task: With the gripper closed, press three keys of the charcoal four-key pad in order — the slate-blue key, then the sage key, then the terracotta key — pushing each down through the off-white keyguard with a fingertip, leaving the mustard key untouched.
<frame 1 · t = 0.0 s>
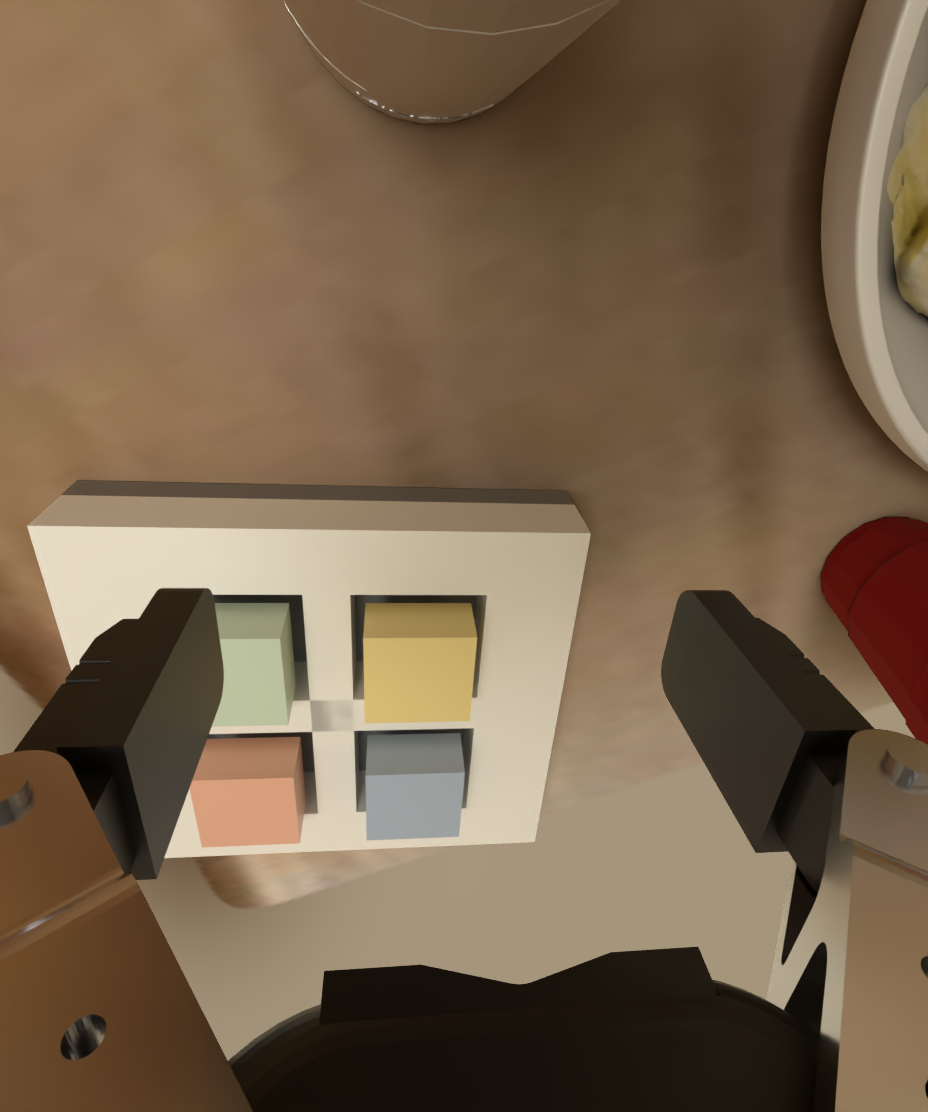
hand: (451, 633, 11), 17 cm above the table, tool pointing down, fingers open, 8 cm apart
keypad board: (339, 657, 32), on the table
key terracotta: (251, 791, 29), point 5 cm above the table, slide at 0.0 cm
key sage: (233, 664, 26), point 5 cm above the table, slide at 0.0 cm
key mustard: (418, 662, 27), point 5 cm above the table, slide at 0.0 cm
key slate: (413, 786, 30), point 5 cm above the table, slide at 0.0 cm
plastic cup: (872, 566, 33), on the table
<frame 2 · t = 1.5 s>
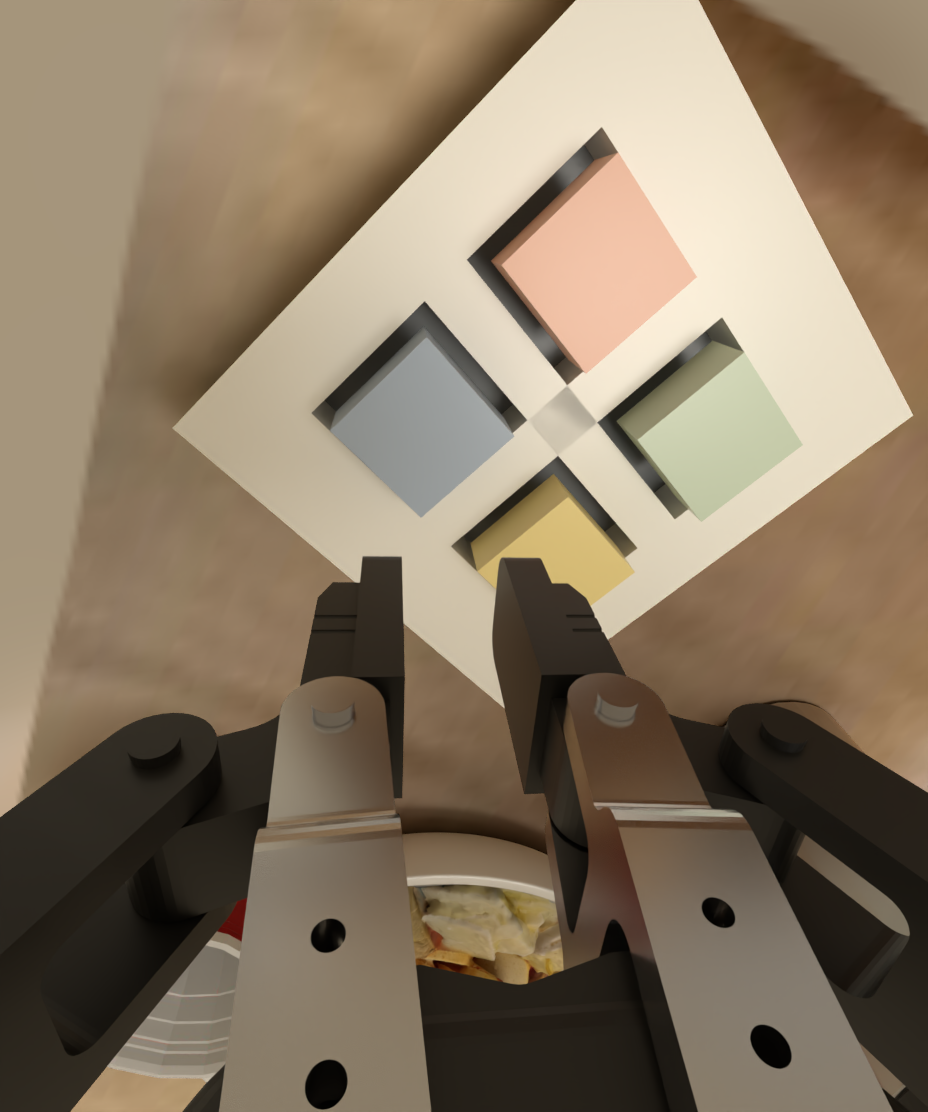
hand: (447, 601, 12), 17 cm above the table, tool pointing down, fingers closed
keypad board: (539, 394, 28), on the table
key terracotta: (590, 268, 21), point 5 cm above the table, slide at 0.0 cm
key sage: (706, 432, 24), point 5 cm above the table, slide at 0.0 cm
key mustard: (550, 557, 26), point 5 cm above the table, slide at 0.0 cm
key slate: (422, 423, 22), point 5 cm above the table, slide at 0.0 cm
plastic cup: (229, 788, 37), on the table
bowl: (417, 947, 46), on the table
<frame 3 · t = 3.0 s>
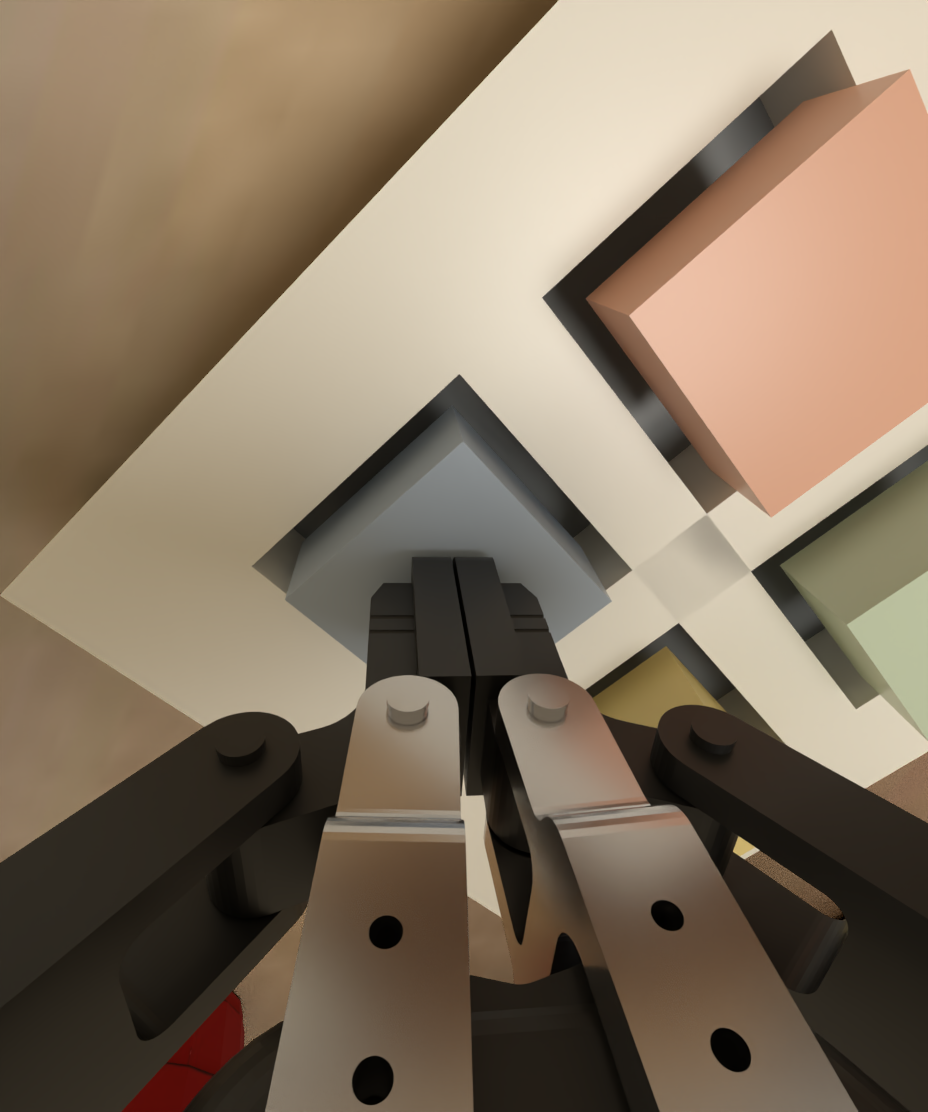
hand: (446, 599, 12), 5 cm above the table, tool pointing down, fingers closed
keypad board: (629, 497, 17), on the table
key terracotta: (786, 316, 11), point 5 cm above the table, slide at 0.0 cm
key mustard: (658, 780, 15), point 5 cm above the table, slide at 0.0 cm
key slate: (448, 570, 13), point 4 cm above the table, slide at 0.8 cm, touching gripper
plastic cup: (168, 1005, 27), on the table
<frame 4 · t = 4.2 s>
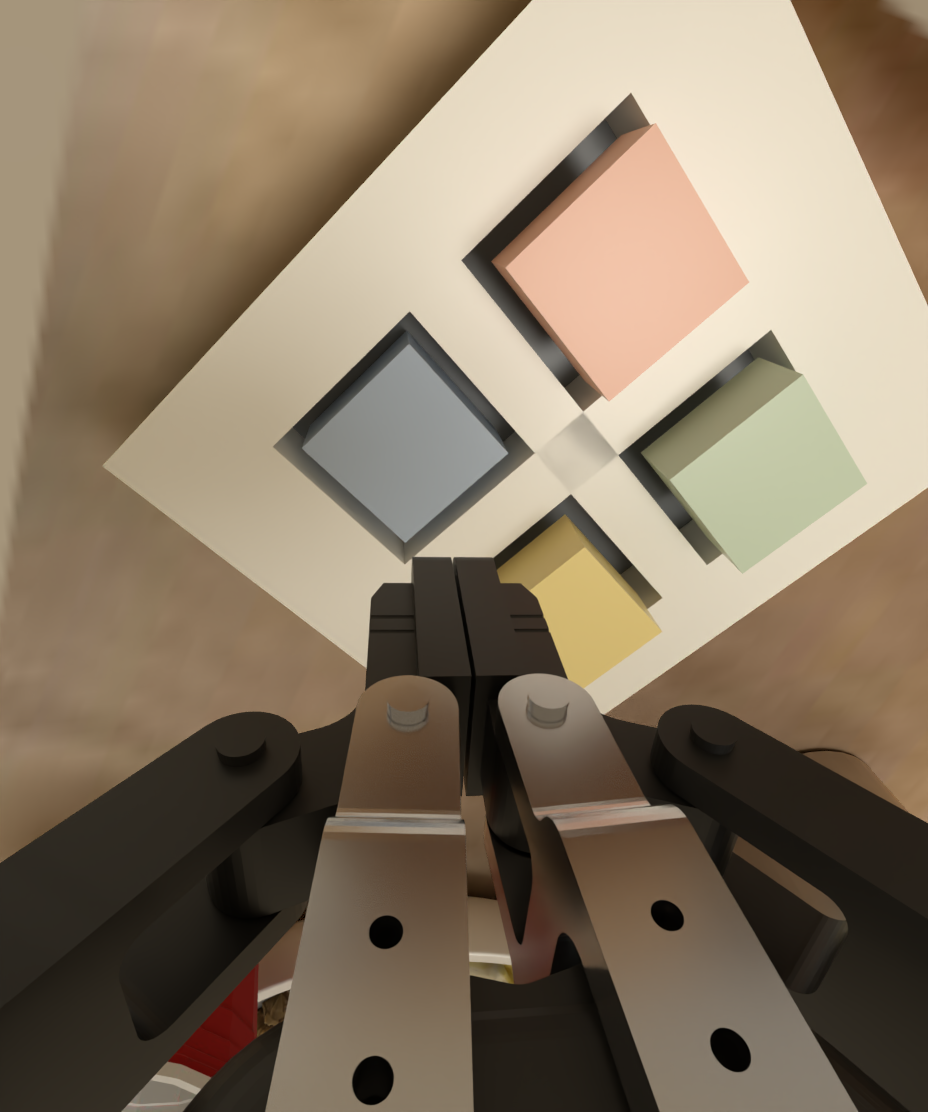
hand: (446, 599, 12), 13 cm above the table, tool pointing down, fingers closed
keypad board: (547, 416, 24), on the table
key terracotta: (614, 271, 17), point 5 cm above the table, slide at 0.0 cm
key sage: (750, 467, 20), point 5 cm above the table, slide at 0.0 cm
key mustard: (561, 612, 22), point 5 cm above the table, slide at 0.0 cm
key slate: (406, 438, 20), point 3 cm above the table, slide at 2.0 cm
plastic cup: (196, 852, 33), on the table
bowl: (409, 1008, 42), on the table
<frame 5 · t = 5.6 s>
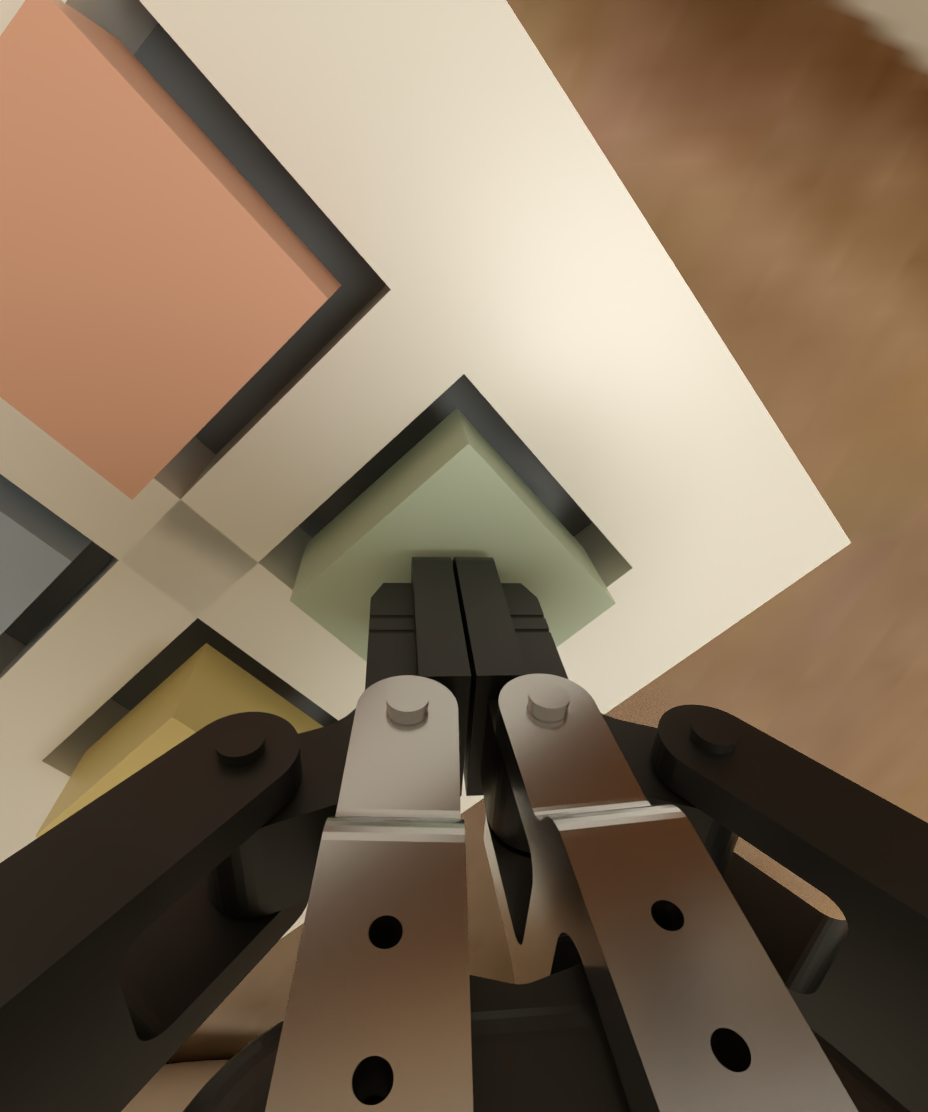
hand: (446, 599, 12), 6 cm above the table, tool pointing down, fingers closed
keypad board: (236, 486, 16), on the table
key terracotta: (126, 278, 10), point 5 cm above the table, slide at 0.0 cm
key sage: (452, 571, 13), point 4 cm above the table, slide at 0.6 cm, touching gripper
key mustard: (208, 786, 14), point 5 cm above the table, slide at 0.0 cm
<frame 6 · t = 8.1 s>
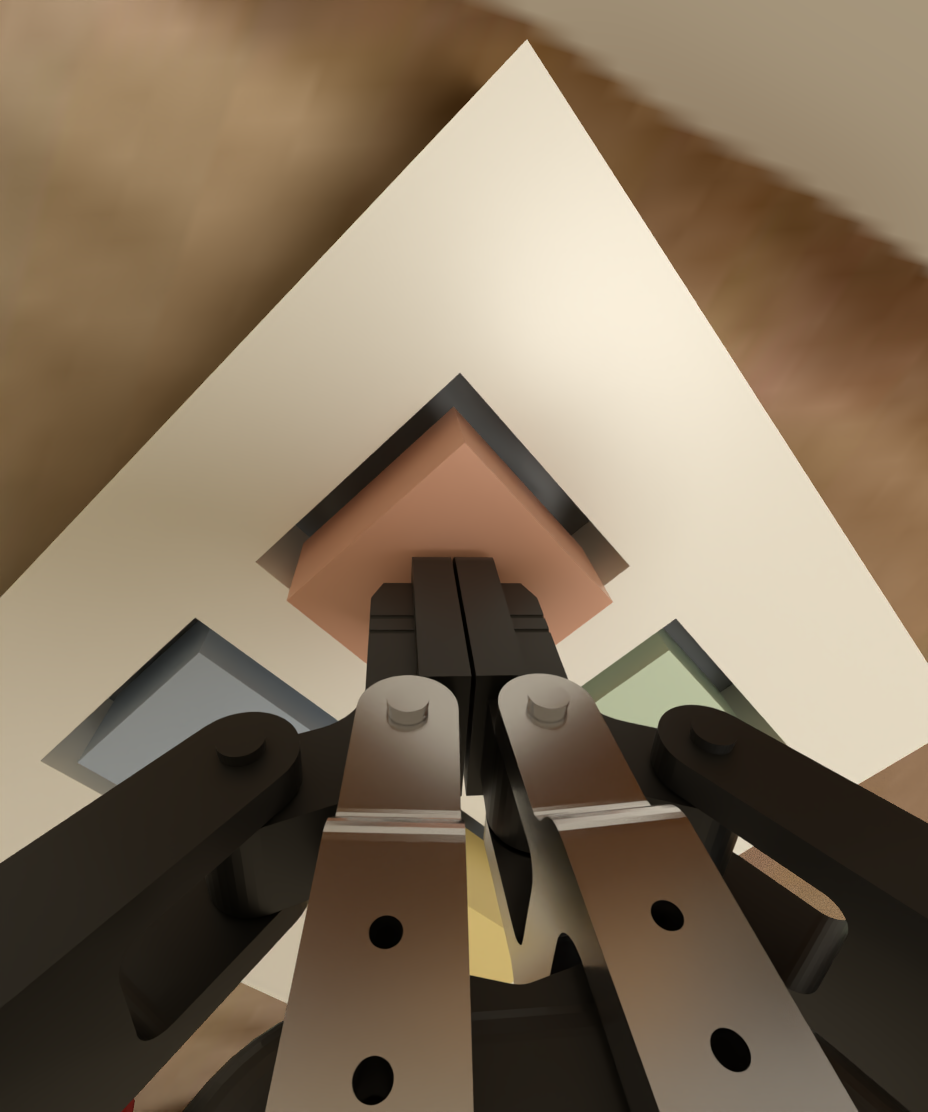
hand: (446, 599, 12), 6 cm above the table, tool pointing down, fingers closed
keypad board: (430, 652, 19), on the table
key terracotta: (449, 571, 13), point 5 cm above the table, slide at 0.6 cm, touching gripper
key sage: (628, 717, 17), point 3 cm above the table, slide at 2.0 cm
key mustard: (431, 920, 17), point 5 cm above the table, slide at 0.0 cm
key slate: (227, 724, 16), point 3 cm above the table, slide at 2.0 cm
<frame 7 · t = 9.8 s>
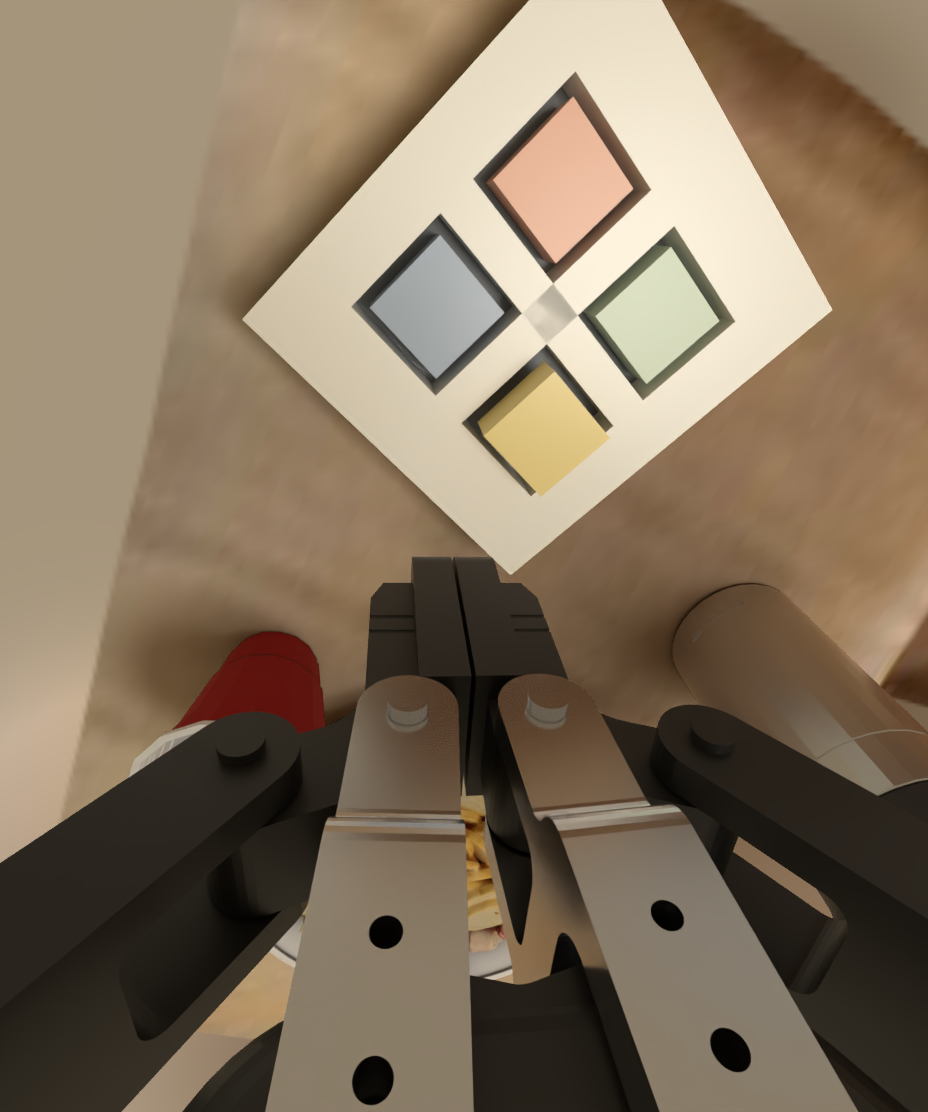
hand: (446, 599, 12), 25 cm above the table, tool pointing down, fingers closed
keypad board: (532, 303, 34), on the table
key terracotta: (557, 185, 28), point 3 cm above the table, slide at 2.0 cm
key sage: (649, 315, 32), point 3 cm above the table, slide at 2.0 cm
key mustard: (542, 429, 32), point 5 cm above the table, slide at 0.0 cm
key slate: (436, 307, 30), point 3 cm above the table, slide at 2.0 cm
plastic cup: (272, 663, 43), on the table
bowl: (432, 822, 52), on the table
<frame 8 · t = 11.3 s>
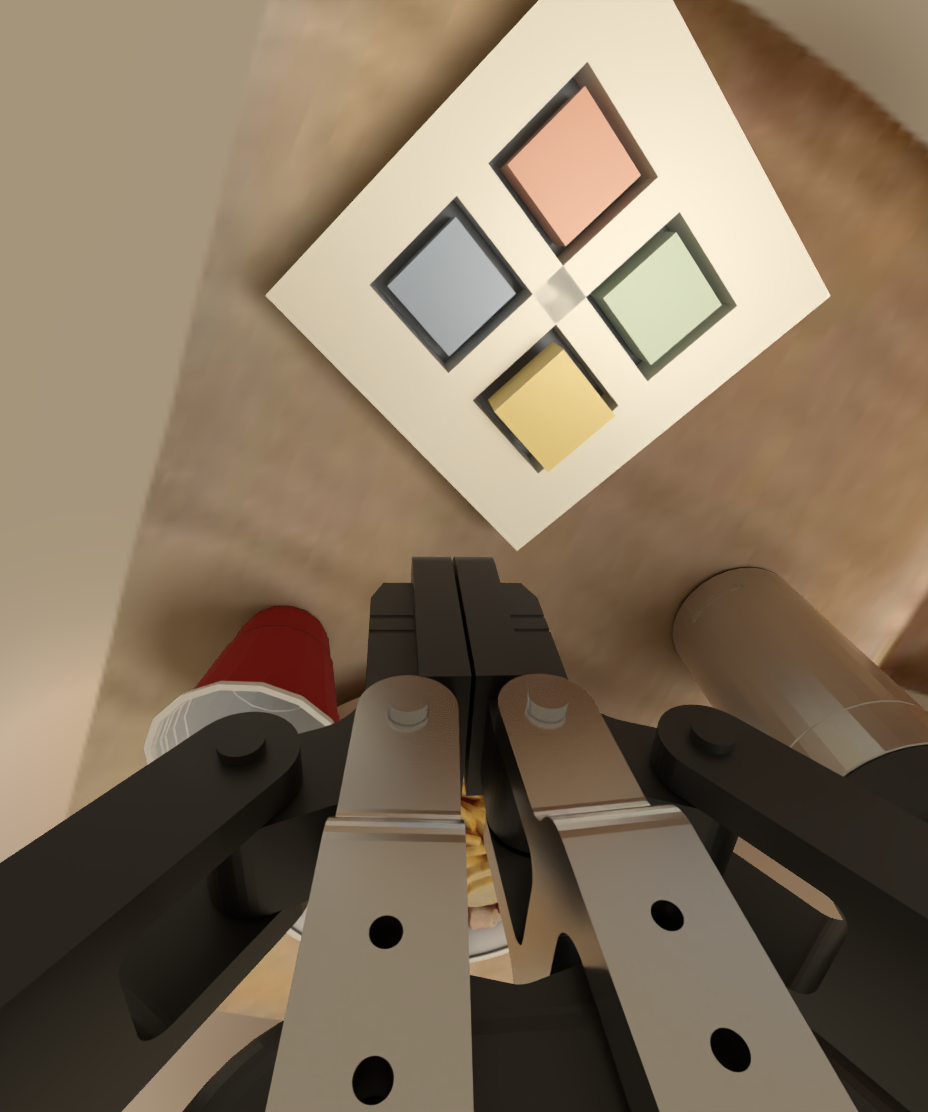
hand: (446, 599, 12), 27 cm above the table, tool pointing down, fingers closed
keypad board: (541, 287, 35), on the table
key terracotta: (568, 171, 30), point 3 cm above the table, slide at 2.0 cm
key sage: (654, 299, 33), point 3 cm above the table, slide at 2.0 cm
key mustard: (550, 407, 33), point 5 cm above the table, slide at 0.0 cm
key slate: (450, 287, 32), point 3 cm above the table, slide at 2.0 cm
plastic cup: (283, 637, 44), on the table
bowl: (435, 801, 53), on the table
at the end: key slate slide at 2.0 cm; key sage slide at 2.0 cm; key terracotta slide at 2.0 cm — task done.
